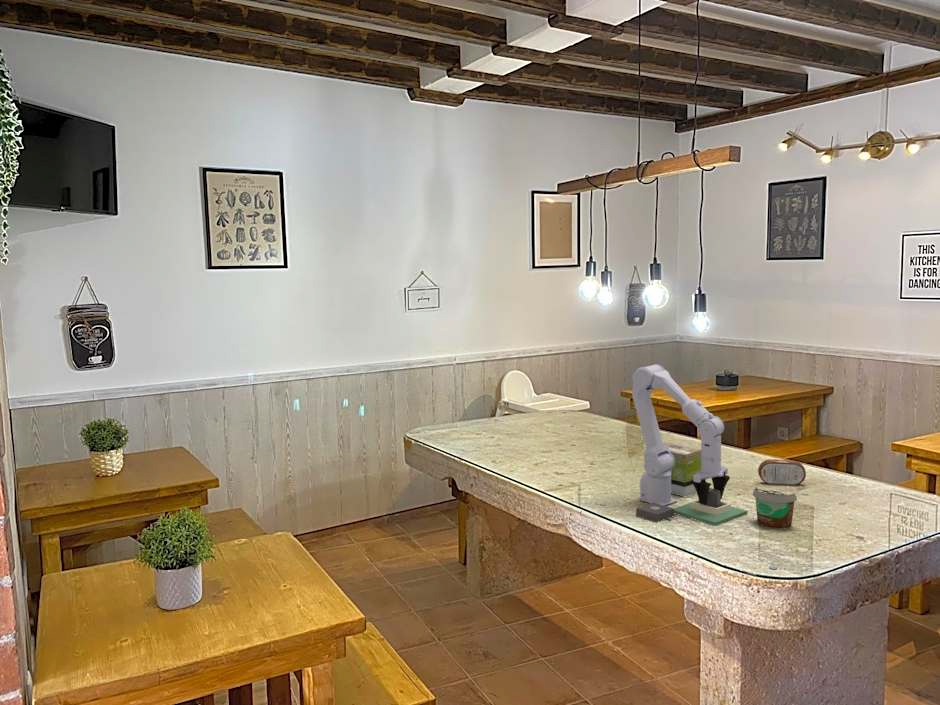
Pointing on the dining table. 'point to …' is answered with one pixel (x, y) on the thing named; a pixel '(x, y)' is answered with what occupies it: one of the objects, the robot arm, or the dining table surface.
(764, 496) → the food container
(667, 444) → the tea box
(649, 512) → the grey flat block
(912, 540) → the dining table surface
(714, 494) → the plug
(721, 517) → the board
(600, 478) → the dining table surface
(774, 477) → the tin
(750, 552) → the dining table surface
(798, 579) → the dining table surface
